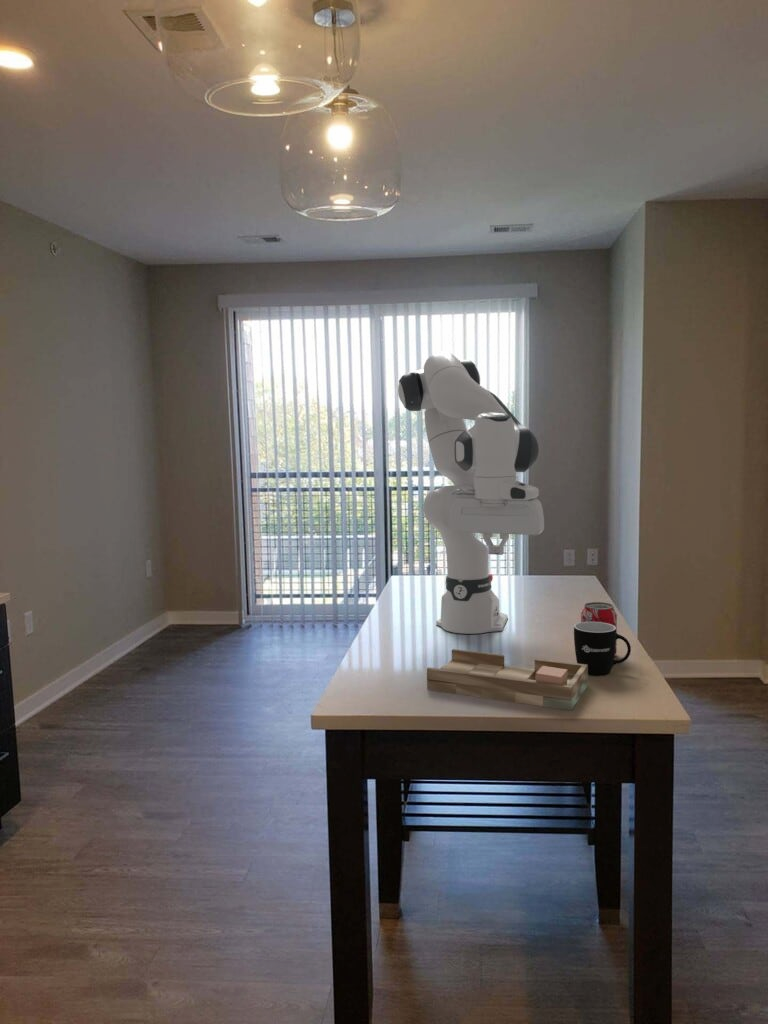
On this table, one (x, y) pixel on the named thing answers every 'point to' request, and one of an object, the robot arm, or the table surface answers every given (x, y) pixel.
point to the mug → (597, 646)
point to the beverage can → (600, 614)
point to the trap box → (507, 680)
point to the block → (552, 675)
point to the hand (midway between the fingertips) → (496, 554)
